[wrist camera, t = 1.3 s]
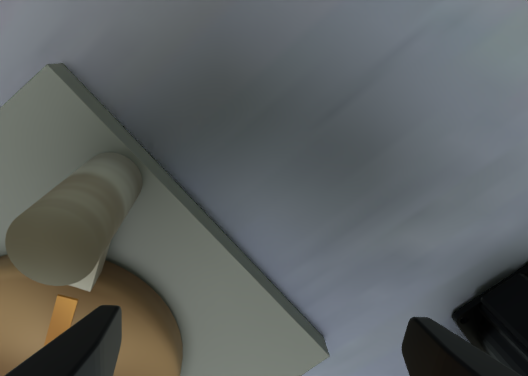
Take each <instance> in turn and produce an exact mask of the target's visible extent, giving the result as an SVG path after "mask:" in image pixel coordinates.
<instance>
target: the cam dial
mask: <svg viewBox="0 0 528 376" xmlns="http://www.w3.org/2000/svg"><path fill="white" fill-rule="evenodd" d="M141 189H142V176H141V173H140V171H139V169H138V167H137V166H136V165H135V163H134V162H132V161H131V160H130V159H129V158H127V157H125V156H123V155H121V154H118V153H111V152H108V153H101V154H98V155H96V156H94V157H93V158H91V159H90V160H89V161H87V162H86V163H85V164H84V165H82V166H81V167H80V168H79V169H77V170H76V171H75V172H73V173H72V174H71V175H70V176H68V177H67V178H66V179H65V180H63V181H62V182H61V183H60V184H58V185H57V186H56V187H54V188H53V189H52V190H51V191H49V192H48V193H47V194H46V195H44V196H43V197H42V198H41V199H39V200H38V201H37V202H35V203H34V204H33V205H32V206H30V207H29V208H28V209H27V210H25V211H24V212H23V213H21V214H20V215H19V216H18V217H16V218H15V219H14V220H13V221H12V223H11V224H10V226H9V228H8V230H7V233H6V237H5V246H6V251H7V254H8V255H4V256H1V257H0V376H4V375H6V374H7V373H8V372H10V371H11V370H12V369H14V368H15V367H17V366H18V365H19V364H21V363H22V362H23V361H25V360H26V359H27V358H29V357H30V356H32V355H33V354H34V353H36V352H37V351H38V350H40V349H41V348H43V347H44V346H45V345H47V344H48V343H49V342H51V341H52V340H53V339H55V338H56V337H58V336H59V335H60V334H62V333H63V332H64V331H66V330H67V329H68V328H70V327H71V326H73V325H74V324H75V323H77V322H78V321H79V320H81V319H82V318H84V317H85V316H86V315H88V314H89V313H90V312H92V311H93V310H94V309H96V308H97V307H99V306H100V305H119V306H120V307H121V310H122V341H121V347H120V351H119V355H118V359H117V362H116V366H115V370H114V374H113V376H180V372H181V365H182V359H183V345H182V340H181V334H180V331H179V328H178V325H177V323H176V320H175V318H174V316H173V315H172V313H171V311H170V309H169V308H168V306H167V305H166V304H165V302H164V301H163V300H162V298H161V297H160V296H159V295H158V294H157V293H156V292H155V291H154V290H153V289H152V288H151V287H150V286H149V285H147V284H146V283H145V282H144V281H142V280H141V279H140V278H139V277H137V276H135V275H134V274H132V273H131V272H129V271H127V270H126V269H124V268H122V267H120V266H118V265H115V264H113V263H111V262H109V261H106V260H105V259H106V256H107V252H108V249H109V246H110V242H111V240H112V238H113V236H114V235H115V233H116V232H117V230H118V228H119V227H120V225H121V223H122V222H123V220H124V219H125V217H126V215H127V214H128V212H129V210H130V209H131V207H132V206H133V204H134V202H135V201H136V199H137V197H138V196H139V194H140V192H141Z"/></svg>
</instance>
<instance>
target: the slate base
mask: <svg viewBox="0 0 528 376" xmlns="http://www.w3.org/2000/svg"><path fill="white" fill-rule="evenodd" d="M108 152H111V153H118V154H121V155H123V156H125V157H127V158H129V159H130V160H131V161H132V162H134V163H135V165H136V166H137V167H138V169H139V171H140V173H141V176H142V189H141V192H140V194H139V196H138V197H137V199H136V201H135V202H134V204H133V206H132V207H131V209H130V210H129V212H128V214H127V215H126V217H125V219H124V220H123V222H122V223H121V225H120V227H119V228H118V230H117V232H116V233H115V235H114V236H113V238H112V240H111V242H110V246H109V249H108V252H107V256H106V259H105V260H106V261H109V262H111V263H113V264H115V265H118V266H120V267H122V268H124V269H126V270H127V271H129V272H131V273H132V274H134V275H135V276H137V277H139V278H140V279H141V280H142V281H144V282H145V283H146V284H147V285H149V286H150V287H151V288H152V289H153V290H154V291H155V292H156V293H157V294H158V295H159V296H160V297H161V298H162V300H163V301H164V302H165V304H166V305H167V306H168V308H169V309H170V311H171V313H172V315H173V316H174V318H175V320H176V323H177V325H178V328H179V331H180V334H181V340H182V345H183V359H182V365H181V372H180V376H301V375H303V374H304V373H306V372H307V371H309V370H310V369H312V368H313V367H315V366H316V365H318V364H319V363H321V362H322V361H324V360H325V359H327V358H328V357H330V355H329V352H328V349H327V346H326V343H325V340H324V338H323V336H322V335H321V334H320V333H319V332H318V331H317V330H316V329H315V328H314V327H313V326H312V325H311V324H310V323H309V322H308V321H307V320H306V319H305V318H304V317H303V315H302V314H301V313H300V312H299V311H298V310H297V309H296V308H295V307H294V306H293V305H292V304H291V303H290V302H289V301H288V300H287V299H286V298H285V297H284V296H283V294H282V293H281V292H280V291H279V290H278V289H277V288H276V287H275V286H274V285H273V284H272V283H271V282H270V281H269V280H268V279H267V278H266V277H265V276H264V274H263V273H262V272H261V271H260V270H259V269H258V268H257V267H256V266H255V265H254V264H253V263H252V262H251V261H250V260H249V259H248V258H247V257H246V256H245V255H244V253H243V252H242V251H241V250H240V249H239V248H238V247H237V246H236V245H235V244H234V243H233V242H232V241H231V240H230V239H229V238H228V237H227V236H226V235H225V234H224V232H223V231H222V230H221V229H220V228H219V227H218V226H217V225H216V224H215V223H214V222H213V221H212V220H211V219H210V218H209V217H208V216H207V215H206V214H205V213H204V211H203V210H202V209H201V208H200V207H199V206H198V205H197V204H196V203H195V202H194V201H193V200H192V199H191V198H190V197H189V196H188V195H187V194H186V193H185V192H184V190H183V189H182V188H181V187H180V186H179V185H178V184H177V183H176V182H175V181H174V180H173V179H172V178H171V177H170V176H169V175H168V174H167V173H166V172H165V171H164V169H163V168H162V167H161V166H160V165H159V164H158V163H157V162H156V161H155V160H154V159H153V158H152V157H151V156H150V155H149V154H148V153H147V152H146V151H145V150H144V148H143V147H142V146H141V145H140V144H139V143H138V142H137V141H136V140H135V139H134V138H133V137H132V136H131V135H130V134H129V133H128V132H127V131H126V130H125V129H124V127H123V126H122V125H121V124H120V123H119V122H118V121H117V120H116V119H115V118H114V117H113V116H112V115H111V114H110V113H109V112H108V111H107V110H106V109H105V108H104V106H103V105H102V104H101V103H100V102H99V101H98V100H97V99H96V98H95V97H94V96H93V95H92V94H91V93H90V92H89V91H88V90H87V89H86V88H85V87H84V85H83V84H82V83H81V82H80V81H79V80H78V79H77V78H76V77H75V76H74V75H73V74H72V73H71V72H70V71H69V70H68V69H67V68H66V67H65V66H64V64H63V63H60V64H47V65H46V66H45V67H44V68H43V69H42V70H41V71H39V72H38V73H37V74H36V75H35V76H34V77H33V78H32V79H31V80H30V81H29V82H28V83H27V84H26V85H24V86H23V87H22V88H21V89H20V90H19V91H18V92H17V93H16V94H15V95H14V96H13V97H12V98H11V99H9V100H8V101H7V102H6V103H5V104H4V105H3V106H2V107H1V108H0V257H1V256H4V255H8V254H7V251H6V246H5V237H6V233H7V230H8V228H9V226H10V224H11V223H12V221H13V220H14V219H15V218H16V217H18V216H19V215H20V214H21V213H23V212H24V211H25V210H27V209H28V208H29V207H30V206H32V205H33V204H34V203H35V202H37V201H38V200H39V199H41V198H42V197H43V196H44V195H46V194H47V193H48V192H49V191H51V190H52V189H53V188H54V187H56V186H57V185H58V184H60V183H61V182H62V181H63V180H65V179H66V178H67V177H68V176H70V175H71V174H72V173H73V172H75V171H76V170H77V169H79V168H80V167H81V166H82V165H84V164H85V163H86V162H87V161H89V160H90V159H91V158H93V157H94V156H96V155H98V154H101V153H108Z"/></svg>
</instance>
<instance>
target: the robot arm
mask: <svg viewBox="0 0 528 376" xmlns="http://www.w3.org/2000/svg"><path fill="white" fill-rule="evenodd" d="M462 317H463V318H462ZM461 318H462V319H461ZM453 320H454V322H455V323H456V324H457V326H458V327H459V328H460V330H461V331H462V332H463V334H464V335H465V336H466V338H467V339H468V340H469V342H470V343H471V344H470V343H469V342H467V341H465V340H464V339H462V338H461V337H459V336H458V335H456V334H454V333H453V332H451V331H450V330H448V329H446V328H445V327H443V326H442V325H440V324H438V323H437V322H435V321H434V320H432V319H430V318H428V317H412V318H411V319H410V320H409V322H408V325H407V329H406V332H405V336H404V339H403V343H402V354H403V357H404V360H405V363H406V366H407V369H408V372H409V375H410V376H528V264H527V265H526V266H524V267H523V268H521V269H520V270H518V271H517V272H515V273H514V274H512V275H511V276H509V277H507V278H506V279H504V280H503V281H501V282H500V283H498V284H497V285H495V286H494V287H492V288H491V289H489V290H488V291H486V292H485V293H483V294H482V295H480V296H478V297H477V298H475V299H474V300H472V301H471V302H469V303H468V304H466V305H465V306H463V307H462V308H460V309H459V310H457V311H456V312H455V313H454V314H453ZM121 341H122V310H121V307H120V306H119V305H100V306H99V307H97V308H96V309H94V310H93V311H92V312H90V313H89V314H88V315H86V316H85V317H84V318H82V319H81V320H79V321H78V322H77V323H75V324H74V325H73V326H71V327H70V328H68V329H67V330H66V331H64V332H63V333H62V334H60V335H59V336H58V337H56V338H55V339H53V340H52V341H51V342H49V343H48V344H47V345H45V346H44V347H43V348H41V349H40V350H38V351H37V352H36V353H34V354H33V355H32V356H30V357H29V358H27V359H26V360H25V361H23V362H22V363H21V364H19V365H18V366H17V367H15V368H14V369H12V370H11V371H10V372H8V373H7V374H6V375H4V376H113V374H114V370H115V366H116V362H117V359H118V355H119V351H120V347H121Z"/></svg>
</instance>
